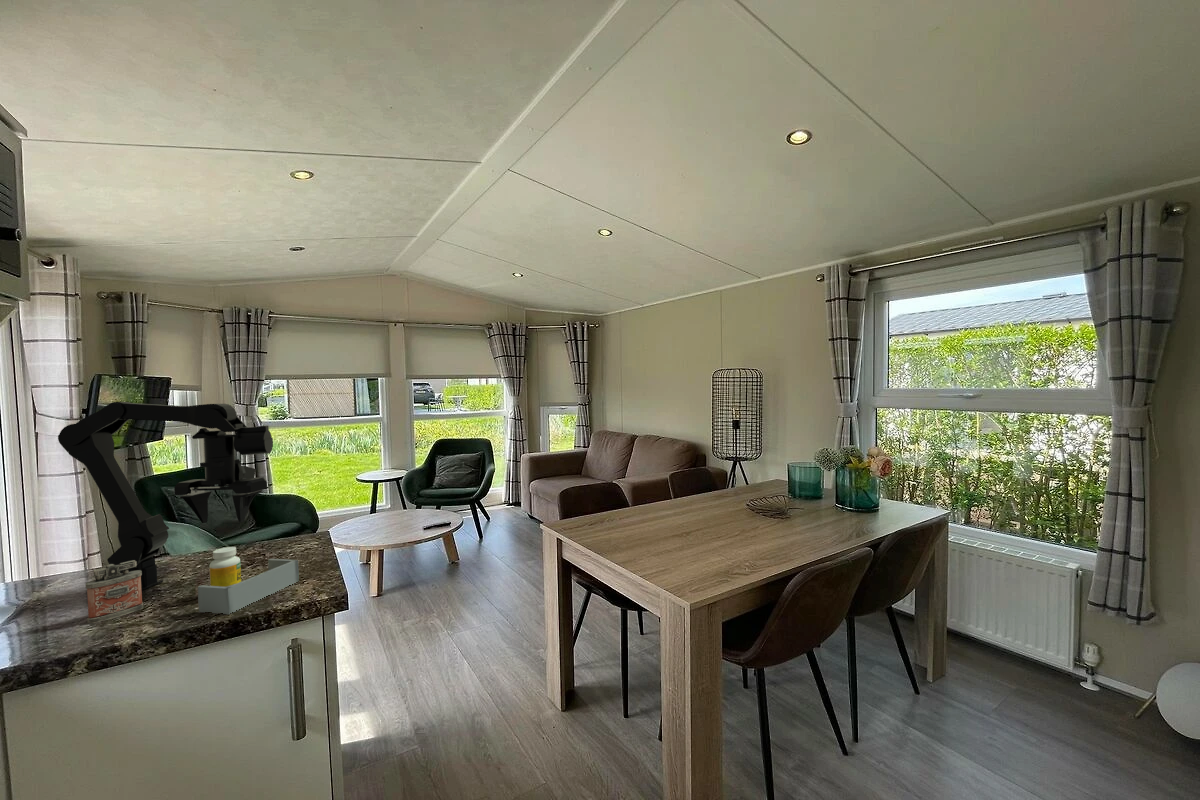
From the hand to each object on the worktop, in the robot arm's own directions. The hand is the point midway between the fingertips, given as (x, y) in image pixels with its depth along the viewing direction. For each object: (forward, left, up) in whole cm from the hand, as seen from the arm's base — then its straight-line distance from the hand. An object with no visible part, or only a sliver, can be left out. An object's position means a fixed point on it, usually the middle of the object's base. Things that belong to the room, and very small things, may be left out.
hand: (223, 522), depth 117 cm
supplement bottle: (+9, -10, -13) cm, 19 cm away
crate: (+15, -11, -13) cm, 23 cm away
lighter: (-6, -20, -13) cm, 24 cm away
